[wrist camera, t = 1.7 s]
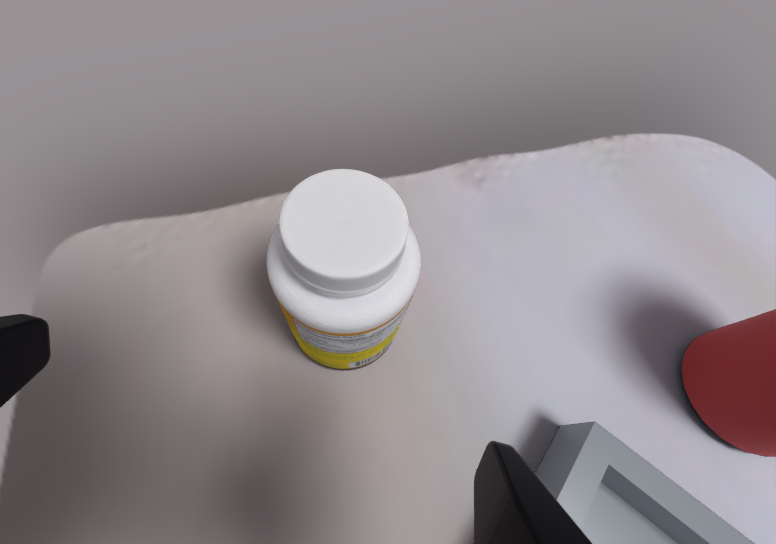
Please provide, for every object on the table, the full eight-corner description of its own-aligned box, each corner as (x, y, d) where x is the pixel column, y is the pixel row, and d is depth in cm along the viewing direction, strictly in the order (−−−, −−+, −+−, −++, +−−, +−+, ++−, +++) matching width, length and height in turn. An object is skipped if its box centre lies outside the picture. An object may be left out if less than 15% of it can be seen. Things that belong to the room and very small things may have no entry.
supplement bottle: (316, 263, 22) (295, 127, 13) (407, 293, 22) (454, 176, 13) (275, 354, 19) (213, 267, 10) (377, 389, 19) (408, 331, 10)
